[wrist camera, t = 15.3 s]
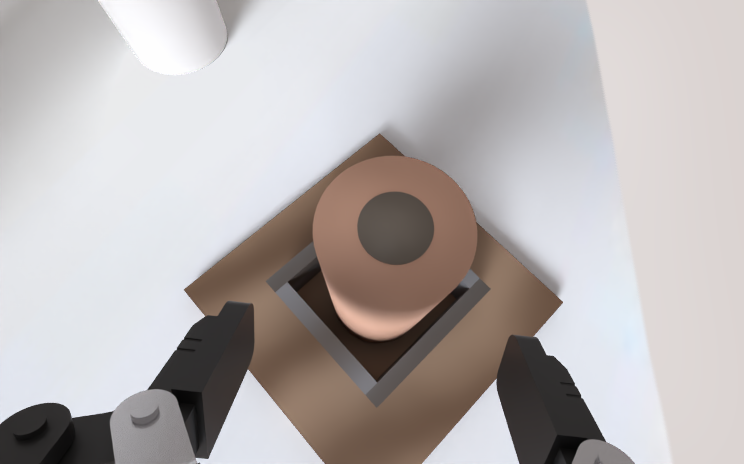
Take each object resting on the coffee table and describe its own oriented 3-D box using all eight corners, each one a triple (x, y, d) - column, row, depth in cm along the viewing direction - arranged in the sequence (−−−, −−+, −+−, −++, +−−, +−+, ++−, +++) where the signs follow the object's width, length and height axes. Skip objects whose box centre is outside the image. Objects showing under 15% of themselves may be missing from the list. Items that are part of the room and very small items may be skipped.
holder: (190, 293, 25) (160, 277, 21) (378, 141, 29) (382, 105, 25) (370, 514, 21) (374, 543, 17) (555, 305, 25) (590, 292, 22)
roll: (315, 296, 24) (277, 222, 13) (378, 239, 25) (396, 125, 14) (376, 363, 23) (395, 349, 11) (439, 299, 24) (512, 230, 13)
